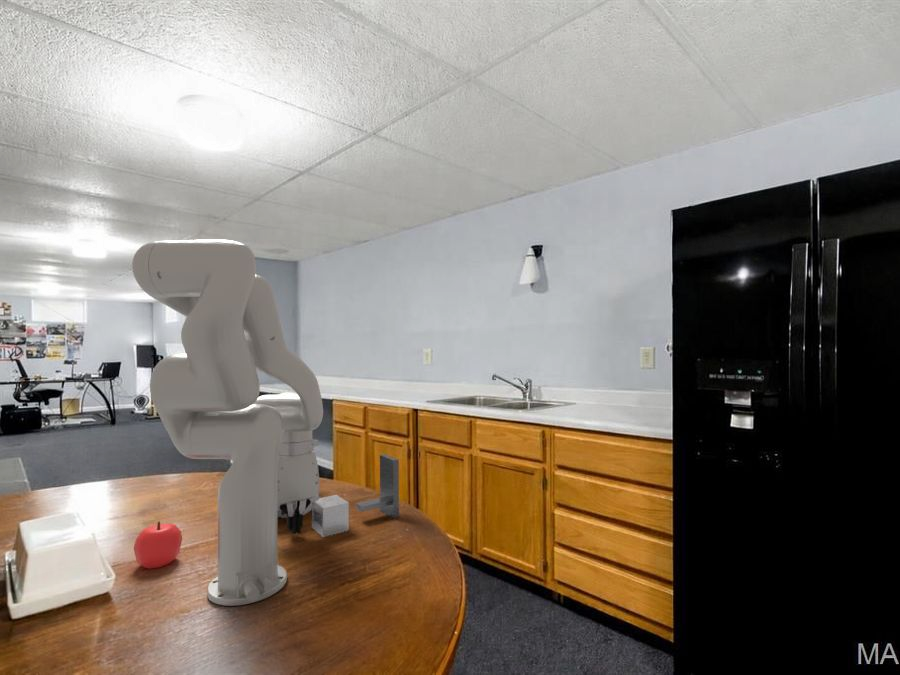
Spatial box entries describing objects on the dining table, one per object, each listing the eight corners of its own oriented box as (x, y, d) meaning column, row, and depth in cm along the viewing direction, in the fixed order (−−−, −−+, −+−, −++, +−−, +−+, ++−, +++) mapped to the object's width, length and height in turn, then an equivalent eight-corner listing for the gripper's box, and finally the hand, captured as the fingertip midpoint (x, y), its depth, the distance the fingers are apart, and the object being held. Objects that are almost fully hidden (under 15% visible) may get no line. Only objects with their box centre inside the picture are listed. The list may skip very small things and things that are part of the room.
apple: (133, 560, 89) (134, 519, 89) (181, 550, 94) (181, 511, 94) (132, 577, 83) (133, 533, 83) (183, 565, 87) (184, 523, 87)
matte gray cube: (348, 530, 103) (348, 502, 103) (322, 537, 100) (322, 508, 100) (336, 521, 109) (336, 494, 109) (311, 527, 105) (311, 499, 105)
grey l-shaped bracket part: (399, 517, 111) (398, 459, 111) (365, 526, 106) (364, 465, 106) (385, 509, 116) (385, 454, 117) (352, 517, 111) (352, 459, 112)
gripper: (321, 440, 107) (321, 519, 107) (254, 449, 99) (254, 535, 98) (333, 446, 101) (334, 529, 101) (263, 456, 93) (263, 547, 92)
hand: (294, 531), depth 100 cm, fingers closed
